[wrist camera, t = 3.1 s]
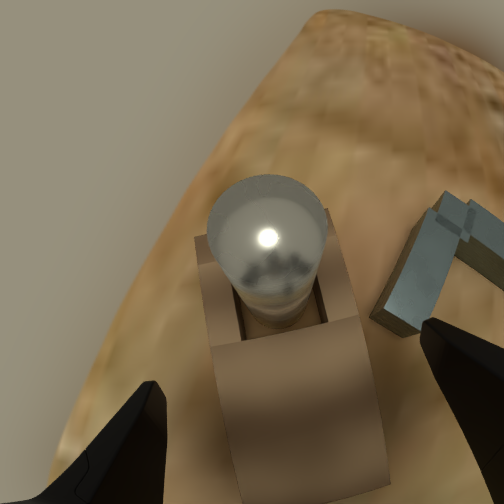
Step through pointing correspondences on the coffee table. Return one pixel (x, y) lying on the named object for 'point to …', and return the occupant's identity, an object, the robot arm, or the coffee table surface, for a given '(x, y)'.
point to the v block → (439, 261)
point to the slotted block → (296, 392)
